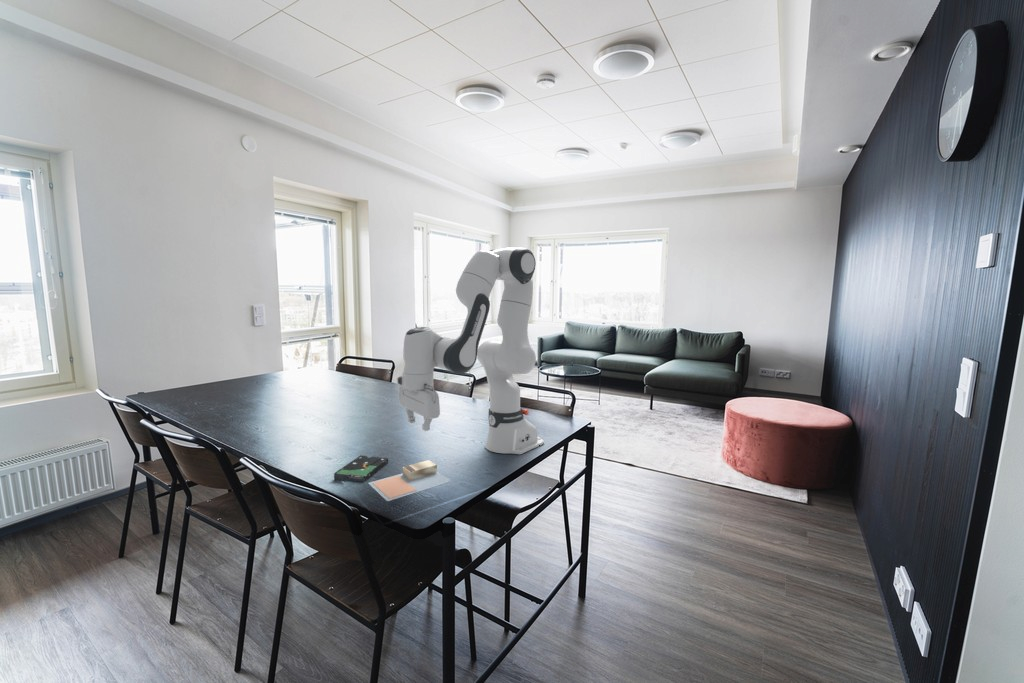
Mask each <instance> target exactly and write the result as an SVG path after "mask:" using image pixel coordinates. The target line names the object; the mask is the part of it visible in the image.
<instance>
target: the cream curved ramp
mask: <svg viewBox="0 0 1024 683" xmlns="http://www.w3.org/2000/svg"><path fill="white" fill-rule="evenodd" d="M437 472H438V465H437V464H436V463H434V462H433V461H431V460H430V459H428V460H424V461H419V462H416V463H412V464H409V465H404V466H402V473H403V475H404V476H405V477H406V478H408V479H409V480H413V479H417V478H420V477H424V476H427V475H431V474H434V473H437Z"/></svg>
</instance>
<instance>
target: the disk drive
mask: <svg viewBox="0 0 1024 683" xmlns="http://www.w3.org/2000/svg"><path fill="white" fill-rule="evenodd" d="M388 463H389V458H388V457H379V456H371V457H368V456H367V455H362V454H361V455H359V456H357V457H356V458H355V459H353V460H352V461H350V462H349V463H347V464H346V465H344V466H342V468H340V469H338V470H337V471H335V472H334V473H333V480H334V481H336V480H338V481H339V482H345V481H355V482H363V483H365V482H366V481H367V480H369V479H370V478H371V477H372V476H373V475H375V474H376V473H378V472H379V471H380V470H381V469H382V468H384V467H385V466H386V465H387V464H388ZM338 481H337V482H338Z"/></svg>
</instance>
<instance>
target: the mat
mask: <svg viewBox="0 0 1024 683" xmlns="http://www.w3.org/2000/svg"><path fill="white" fill-rule="evenodd" d="M451 482H452V480H451V479H449V478H448V477H447V476H444V475H443V474H442V473H440V472H438V471H437V473H434V474H431V475H427V476H424V477H420V478H417V479H413V480H409V479H408V478H406V477H405V476H404V475H403V472H402V473H400V474H399V473H398V474H395V475H391V476H388V477H385V478H381V479H378V480H374V481H370V482H367V484H368V485H369V486H370V487H371V488H372V489H373V490H375V491H376V492H377V493H378V494H379V495H380V496H381V497H382V498H383V499H384V500H385V501H386V502H390V501H393V500H397V499H401V498H402V497H405V496H410V495H412V494H416V493H419V492H422V491H425V490H428V489H432V488H435V487H438V486H442V485H444V484H448V483H451Z"/></svg>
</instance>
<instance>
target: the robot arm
mask: <svg viewBox="0 0 1024 683" xmlns="http://www.w3.org/2000/svg"><path fill="white" fill-rule="evenodd" d="M536 263H537V262H536V257H535V255H534V253H533V252H532V251H531V249H528V248H525V247H504V248H498V249H490V250H486V249H485V250H484V249H481V250H478V251H477V252H475V253H474V255H472V256H471V258H470V260H469V261H468V262H467V264H466V266H465V268H464V269H463V271H462V272H461V274H460V276H459V279H458V281H457V284H456V288H455V292H456V293H455V294H456V296H457V299H458V301H459V302H460V303H461V304H463V306H465V307H466V309H467V315H466V318H465V320H464V324H463V326H462V329H461V332H460V335H458V337H457V338H450V337H445V336H443V335H441V334H439V333H437V332H435V331H433V330H432V329H431V328H430V327H428V326H421V327H415V328H414V327H413V328H411V329H409V330H408V331H407V332H406V333H405V335H404V339H403V352H402V353H403V360H404V368H403V370H402V372H403V374H402V375H400V376H397V377H396V383H397V385H398V386H397V388H398V389H397V391H398V393H397V394H398V396H397V397H398V402H399V405H400V407H401V406H402V407H403V408H405V412H406V415H407V416H406V417H407V422H408V423H409V424H414V423H415V422H416V416H415V414H416V415H417V414H418V415H420V416H421V417H423V423H422V424H421V428H422V430H423V431H424V432H426V431H430V429H431V423H432V420H433V419H437V418H439V417H440V415H441V407H440V397H439V393H438V392H437V391H436V390H435V387H434V370H435V368H440V369H442V370H443V369H444V370H448V371H450V372H452V373H454V374H457V375H463V374H466V373H468V372H469V371H471V370H472V369H473V367H474V366H475V364H476V362H477V360H478V362H479V364H481V366H482V367H483V370H484V372H485V376H486V380H487V383H488V388H489V408H488V417H487V418H488V431H487V438H486V441H485V445H484V448H485V449H486V450H487V451H489V452H493V453H498V454H512V455H522V454H524V453H526V452H529V451H531V450H533V449H535V448H538V447H540V446H542V445H544V444H545V441H544V439H542V438H541V437H539V435H538V430H537V427H536V426H535V425H534V424H533V423H531V422H530V421H528V420H527V419H526V418H525V417H524V415H525V416H529V414H530V411H529V409H526V408H523V409H522V408H521V388H520V386H519V384H518V382H517V381H516V380H515V377H514V376H513V375H526V374H529V373H531V372H532V371H533V369H534V368H535V365H536V362H537V355H536V353H535V351H534V349H533V347H532V346H531V344H530V341H529V334H528V333H529V332H528V326H529V320H530V314H531V308H532V302H533V294H534V293H533V290H534V289H533V288H534V285H533V284H534V282H533V280H532V278H533V275H534V273H535V270H536ZM496 281H503V286H504V289H503V292H502V295H501V299H500V305H499V309H498V310H499V311H498V314H497V320H496V322H497V324H498V327H499V328H500V330H501V332H502V334H501V335H502V340H498V339H492V340H491V339H490V340H486V341H483V342H482V343H481V344H480V342H481V341H480V340H481V338H482V335H483V331H484V328H485V325H486V323H487V319H488V316H489V312H490V306H491V303H490V302H491V301H490V296H491V294H492V293H491V292H492V290H493V288H494V285H495V284H496ZM479 344H480V345H479ZM543 443H544V444H543ZM539 445H540V446H539Z"/></svg>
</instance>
